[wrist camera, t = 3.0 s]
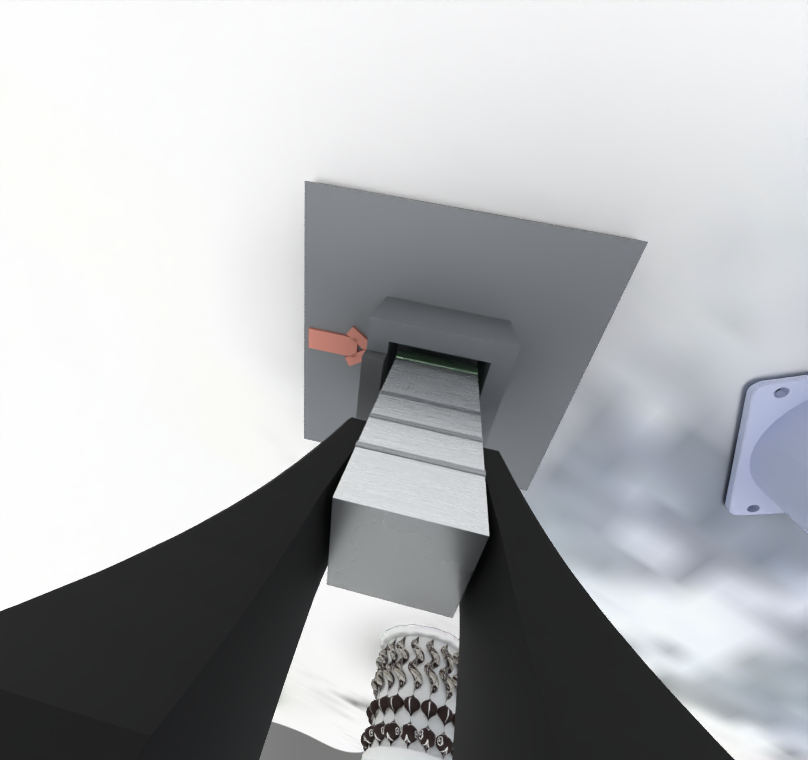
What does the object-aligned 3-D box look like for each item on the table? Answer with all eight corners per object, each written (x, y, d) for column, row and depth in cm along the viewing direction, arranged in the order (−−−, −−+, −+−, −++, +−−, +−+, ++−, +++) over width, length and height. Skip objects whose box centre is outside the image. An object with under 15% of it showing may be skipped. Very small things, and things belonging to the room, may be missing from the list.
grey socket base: (635, 239, 13) (714, 255, 9) (523, 477, 19) (539, 550, 15) (315, 182, 14) (252, 173, 10) (311, 428, 20) (272, 484, 16)
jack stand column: (477, 365, 12) (490, 536, 6) (458, 428, 14) (453, 618, 7) (399, 348, 13) (331, 496, 6) (389, 412, 14) (325, 584, 8)
